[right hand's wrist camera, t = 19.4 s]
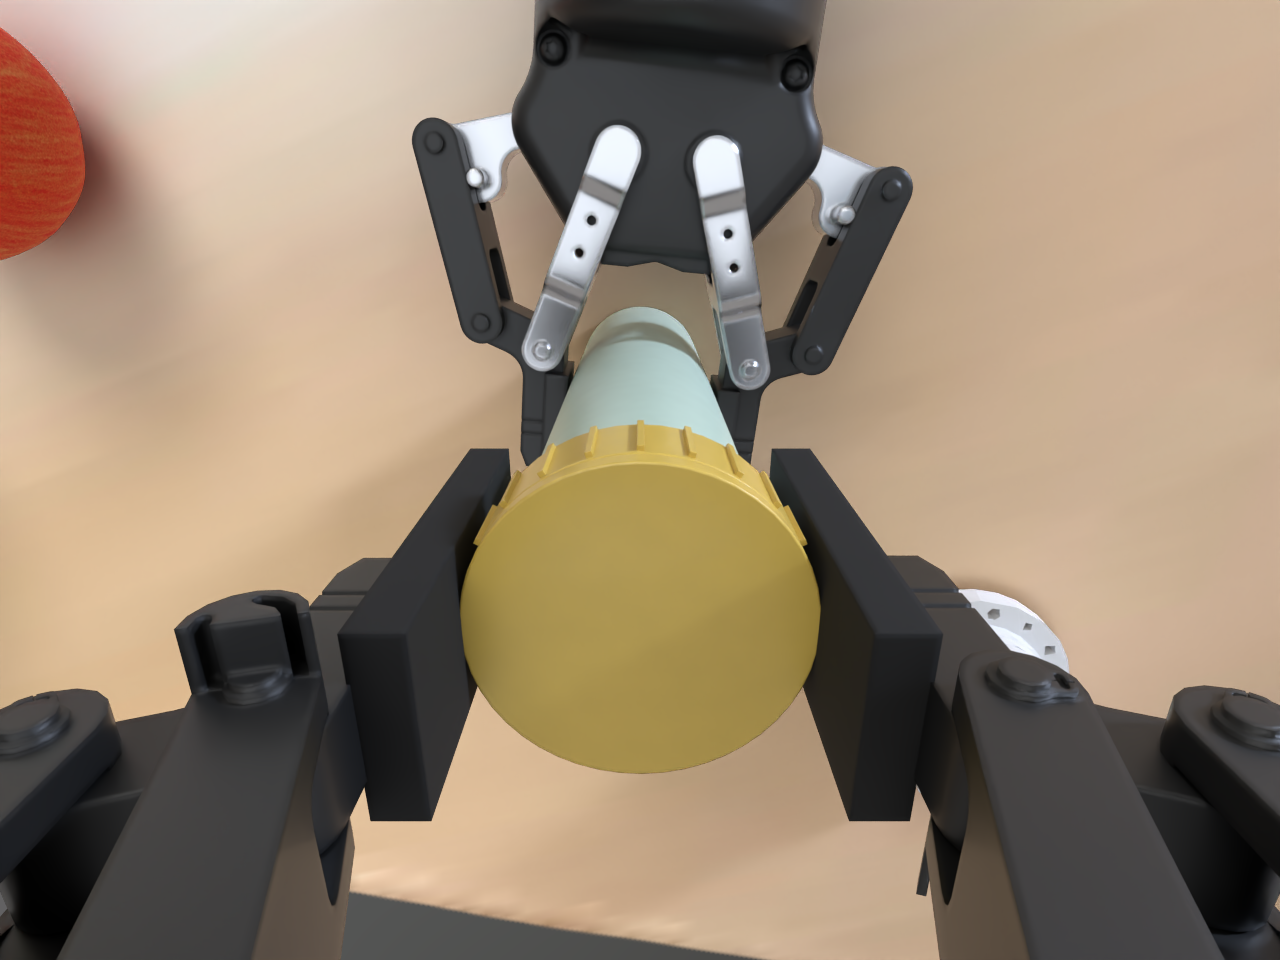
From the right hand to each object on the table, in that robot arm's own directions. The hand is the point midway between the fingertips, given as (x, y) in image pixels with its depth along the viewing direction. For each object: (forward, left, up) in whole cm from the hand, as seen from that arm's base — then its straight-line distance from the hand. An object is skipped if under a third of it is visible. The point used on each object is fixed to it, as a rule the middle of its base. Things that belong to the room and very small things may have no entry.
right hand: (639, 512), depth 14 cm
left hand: (-3, 0, -9) cm, 9 cm away
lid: (0, 0, +4) cm, 4 cm away
